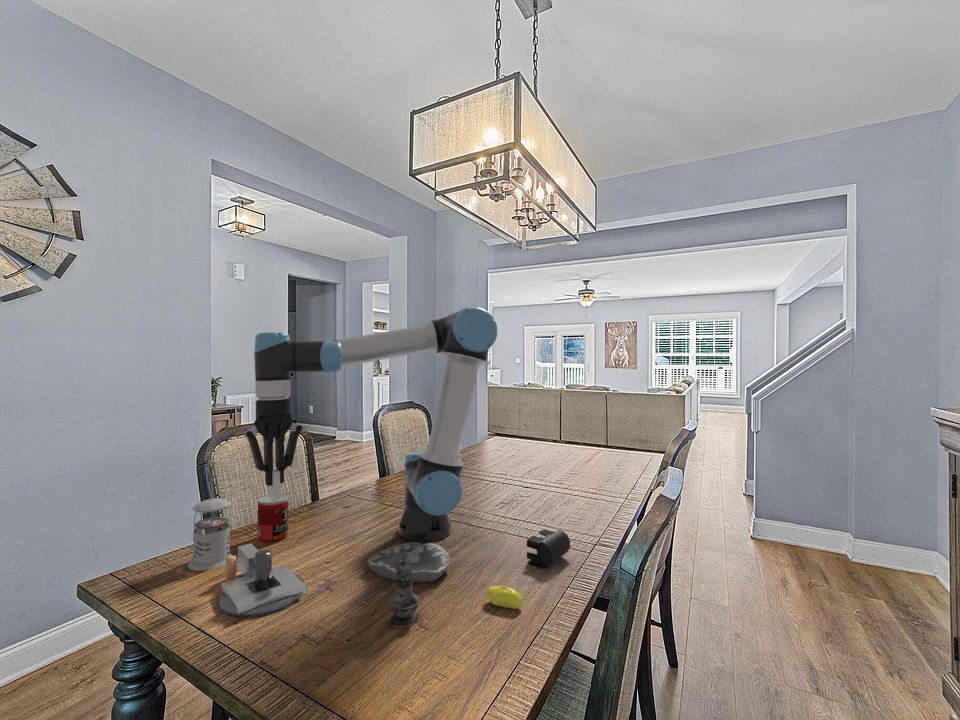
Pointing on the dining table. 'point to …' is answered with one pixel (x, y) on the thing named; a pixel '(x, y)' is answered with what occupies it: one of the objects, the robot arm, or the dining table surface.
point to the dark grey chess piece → (404, 597)
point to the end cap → (547, 548)
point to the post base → (259, 609)
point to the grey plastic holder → (239, 587)
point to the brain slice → (411, 561)
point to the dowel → (230, 568)
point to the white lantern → (210, 534)
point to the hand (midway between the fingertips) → (275, 498)
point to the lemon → (504, 597)
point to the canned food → (272, 519)
